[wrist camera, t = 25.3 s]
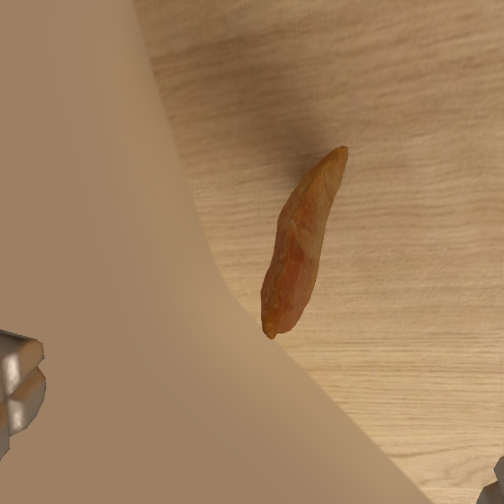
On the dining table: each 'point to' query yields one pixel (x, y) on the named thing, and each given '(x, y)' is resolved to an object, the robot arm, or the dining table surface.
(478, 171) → the dining table surface
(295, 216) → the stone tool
